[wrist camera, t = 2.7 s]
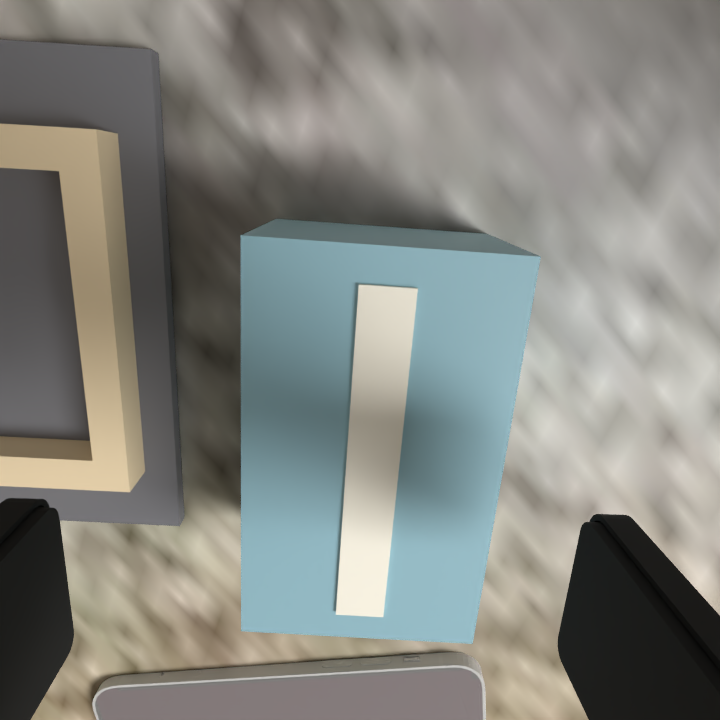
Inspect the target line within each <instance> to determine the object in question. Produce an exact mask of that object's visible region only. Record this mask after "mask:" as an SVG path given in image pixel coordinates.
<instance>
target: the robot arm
mask: <svg viewBox="0 0 720 720" xmlns="http://www.w3.org/2000/svg"><path fill="white" fill-rule="evenodd" d="M73 637H74V629H73V621H72V613H71V605H70V597H69V590H68V582H67V574H66V566H65V558H64V551H63V543H62V535H61V527H60V520H59V514H58V511H57V509H55V508H50V507H49V504H48V502H47V501H46V500H44V499H32V498H8V499H5V500H4V501H2V502H1V503H0V720H31V718H32V716H33V715H34V713H35V711H36V709H37V708H38V706H39V704H40V703H41V701H42V699H43V697H44V696H45V694H46V692H47V691H48V689H49V687H50V685H51V684H52V682H53V680H54V679H55V677H56V675H57V673H58V672H59V670H60V668H61V667H62V665H63V663H64V662H65V660H66V658H67V656H68V654H69V652H70V650H71V647H72V643H73ZM558 651H559V656H560V659H561V662H562V664H563V666H564V668H565V670H566V673H567V675H568V677H569V679H570V681H571V683H572V685H573V687H574V689H575V691H576V694H577V696H578V698H579V700H580V702H581V704H582V706H583V708H584V710H585V713H586V715H587V717H588V719H589V720H720V616H719V614H718V613H717V612H716V611H715V610H714V609H713V608H712V607H711V606H710V604H709V603H708V602H707V601H706V600H705V599H704V598H703V597H702V596H701V594H700V593H699V592H698V591H697V590H696V589H695V588H694V587H693V586H692V584H691V583H690V582H689V581H688V580H687V579H686V578H685V577H684V576H683V574H682V573H681V572H680V571H679V570H678V569H677V568H676V567H675V566H674V564H673V563H672V562H671V561H670V560H669V559H668V558H667V557H666V556H665V554H664V553H663V552H662V551H661V550H660V549H659V548H658V547H657V546H656V544H655V543H654V542H653V541H652V540H651V539H650V538H649V537H648V536H647V534H646V533H645V532H644V531H643V530H642V529H641V528H640V527H639V526H638V524H637V523H636V522H635V521H634V520H633V519H632V518H631V517H629V516H627V515H609V514H596V515H594V516H593V517H592V518H591V520H590V522H585V523H584V524H583V525H582V527H581V530H580V535H579V540H578V545H577V549H576V554H575V559H574V564H573V569H572V574H571V578H570V583H569V588H568V593H567V598H566V602H565V607H564V612H563V617H562V622H561V626H560V631H559V636H558Z"/></svg>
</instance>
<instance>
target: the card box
mask: <svg viewBox="0 0 720 720" xmlns="http://www.w3.org/2000/svg"><path fill="white" fill-rule="evenodd" d="M540 258H541V257H540V256H538V255H536V254H533V253H531V252H528V251H526V250H524V249H521V248H519V247H517V246H514V245H512V244H510V243H507V242H505V241H503V240H500V239H498V238H495V237H493V236H491V235H488V234H482V233H468V232H454V231H441V230H427V229H413V228H399V227H385V226H371V225H357V224H343V223H329V222H315V221H301V220H287V219H275V220H273V221H271V222H268V223H266V224H264V225H262V226H260V227H258V228H255V229H253V230H251V231H249V232H247V233H245V234H242V235H241V631H248V632H266V633H284V634H303V635H321V636H340V637H358V638H376V639H395V640H413V641H431V642H450V643H468V644H473V638H474V632H475V627H476V621H477V615H478V609H479V604H480V598H481V592H482V587H483V581H484V575H485V570H486V564H487V558H488V553H489V547H490V541H491V536H492V530H493V524H494V519H495V513H496V507H497V502H498V496H499V490H500V485H501V479H502V473H503V468H504V462H505V456H506V451H507V445H508V439H509V434H510V428H511V422H512V417H513V411H514V405H515V400H516V394H517V388H518V383H519V377H520V371H521V366H522V360H523V354H524V349H525V343H526V337H527V332H528V326H529V320H530V315H531V309H532V303H533V298H534V292H535V286H536V281H537V275H538V269H539V264H540Z"/></svg>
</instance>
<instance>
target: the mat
mask: <svg viewBox="0 0 720 720" xmlns="http://www.w3.org/2000/svg"><path fill="white" fill-rule="evenodd" d="M8 498H32V499H44V500H46V501H47V502H48V504H49V507H50V508H55V509H57V511H58V514H59V520H65V521H85V522H106V523H127V524H148V525H169V526H180V525H181V523H182V521H183V519H184V500H183V482H182V465H181V447H180V429H179V411H178V394H177V376H176V358H175V340H174V323H173V305H172V287H171V269H170V252H169V234H168V216H167V198H166V181H165V163H164V145H163V127H162V110H161V92H160V74H159V56H158V53H157V52H155V51H153V50H152V49H142V48H126V47H111V46H95V45H79V44H64V43H48V42H32V41H17V40H1V39H0V503H1V502H2V501H4V500H5V499H8Z"/></svg>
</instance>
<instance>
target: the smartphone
mask: <svg viewBox="0 0 720 720" xmlns="http://www.w3.org/2000/svg"><path fill="white" fill-rule="evenodd" d="M92 705H93V711H94V714H95V717H96V720H486V703H485V684H484V680H483V675H482V671H481V667H480V665H479V663H478V662H477V661H476V660H475V659H474V658H473V657H471V656H469V655H467V654H464V653H459V652H443V653H428V654H414V655H400V656H386V657H371V658H357V659H340V660H324V661H315V662H301V663H286V664H272V665H258V666H244V667H230V668H216V669H202V670H188V671H173V672H159V673H145V674H131V675H120V676H114V677H111V678H109V679H107V680H105V681H104V682H103V683H102V684H101V685H100V687H99V689H98V691H97V693H96V694H95V696H94V699H93V703H92Z"/></svg>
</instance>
